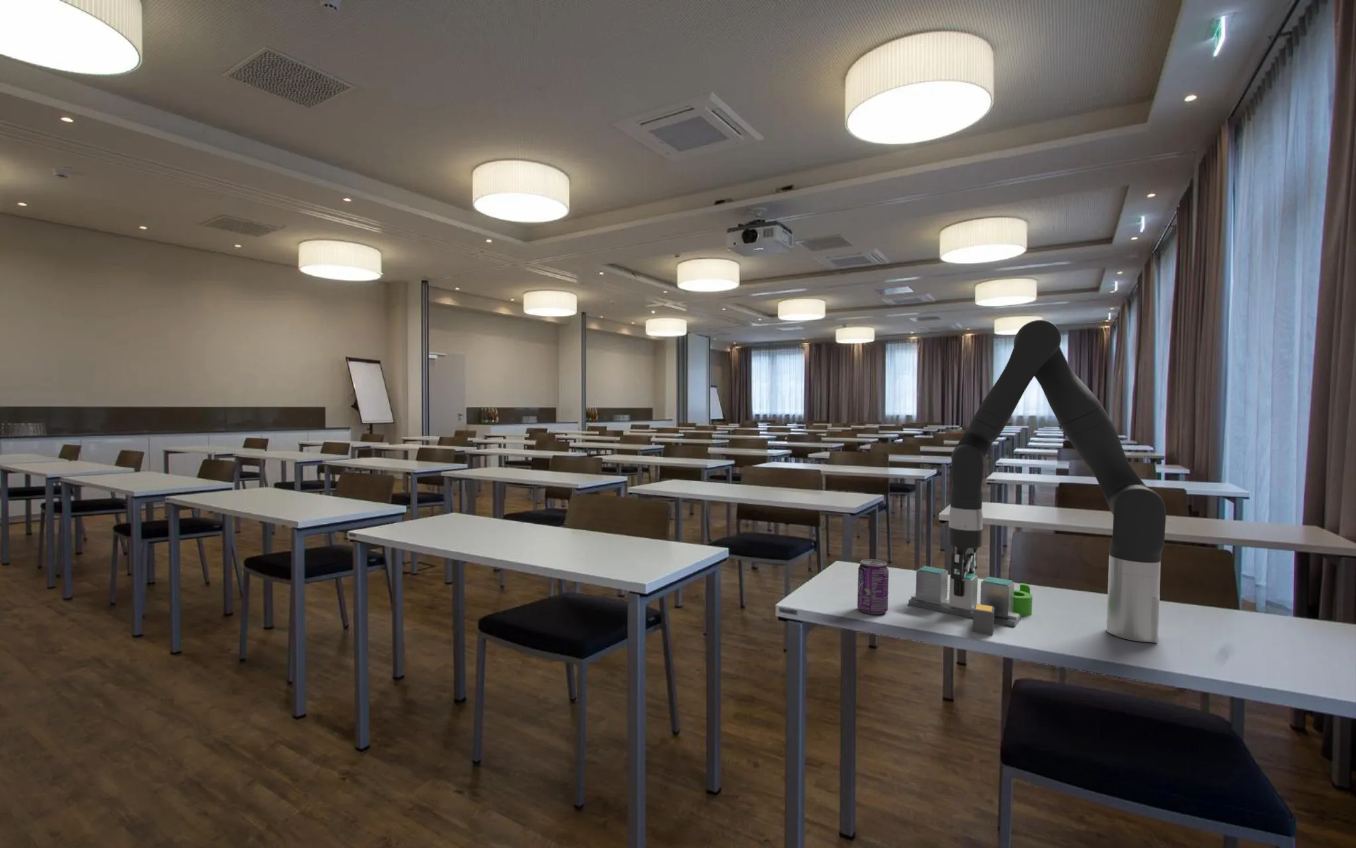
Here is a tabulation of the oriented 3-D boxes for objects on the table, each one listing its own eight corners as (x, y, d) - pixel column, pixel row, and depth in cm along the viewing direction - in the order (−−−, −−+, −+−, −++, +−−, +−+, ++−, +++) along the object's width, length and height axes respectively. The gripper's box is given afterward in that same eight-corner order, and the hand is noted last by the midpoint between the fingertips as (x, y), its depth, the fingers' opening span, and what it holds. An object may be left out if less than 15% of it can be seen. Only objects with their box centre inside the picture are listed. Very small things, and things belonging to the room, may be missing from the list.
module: (976, 603, 153) (977, 574, 153) (971, 609, 149) (972, 579, 148) (955, 599, 156) (956, 570, 156) (949, 605, 152) (950, 575, 152)
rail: (1020, 619, 148) (1022, 581, 147) (1014, 627, 142) (1015, 587, 142) (917, 598, 163) (918, 563, 162) (908, 604, 157) (909, 568, 157)
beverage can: (862, 604, 157) (864, 557, 156) (891, 610, 153) (892, 561, 152) (853, 611, 151) (854, 562, 151) (882, 618, 147) (883, 567, 147)
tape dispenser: (1032, 619, 149) (1032, 599, 149) (998, 613, 152) (999, 595, 152) (1030, 602, 162) (1031, 584, 162) (1000, 597, 165) (1000, 580, 165)
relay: (993, 628, 141) (994, 606, 141) (992, 635, 137) (993, 612, 137) (974, 625, 143) (974, 603, 143) (972, 632, 139) (973, 609, 139)
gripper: (974, 532, 144) (972, 602, 144) (989, 524, 155) (987, 588, 155) (940, 528, 149) (938, 595, 149) (957, 520, 160) (955, 583, 160)
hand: (963, 592), depth 152 cm, fingers open, 8 cm apart
